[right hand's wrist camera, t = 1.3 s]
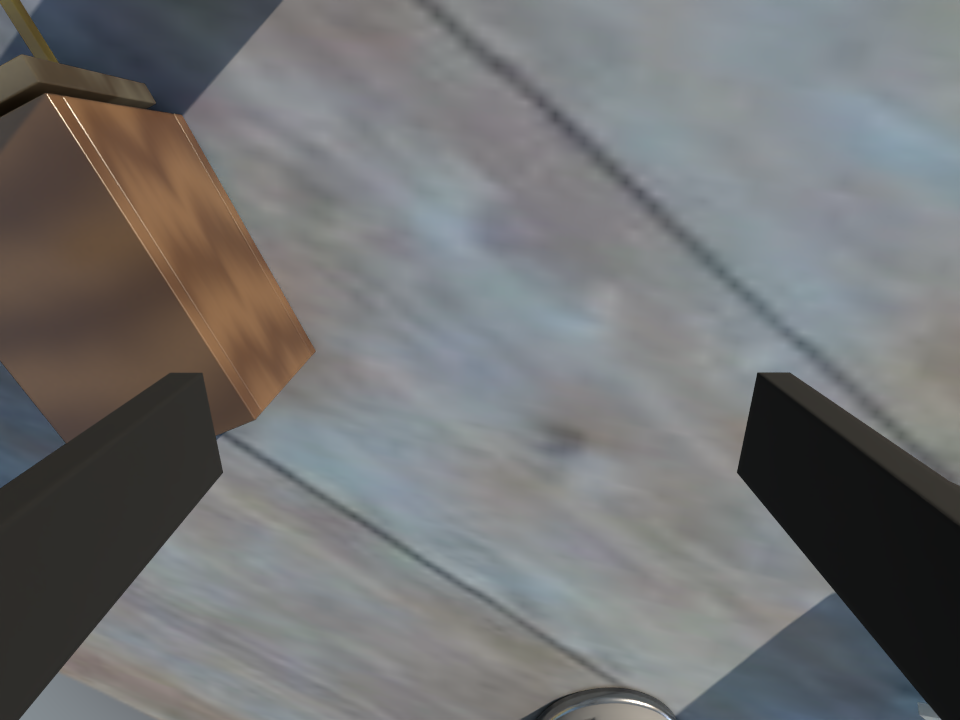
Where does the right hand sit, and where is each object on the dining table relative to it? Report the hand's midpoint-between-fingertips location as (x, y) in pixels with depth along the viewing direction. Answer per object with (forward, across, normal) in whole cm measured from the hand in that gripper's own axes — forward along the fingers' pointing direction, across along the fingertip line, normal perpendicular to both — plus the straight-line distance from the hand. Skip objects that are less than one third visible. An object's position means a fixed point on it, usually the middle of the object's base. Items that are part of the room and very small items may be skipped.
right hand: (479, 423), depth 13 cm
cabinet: (+24, +20, +1) cm, 32 cm away
